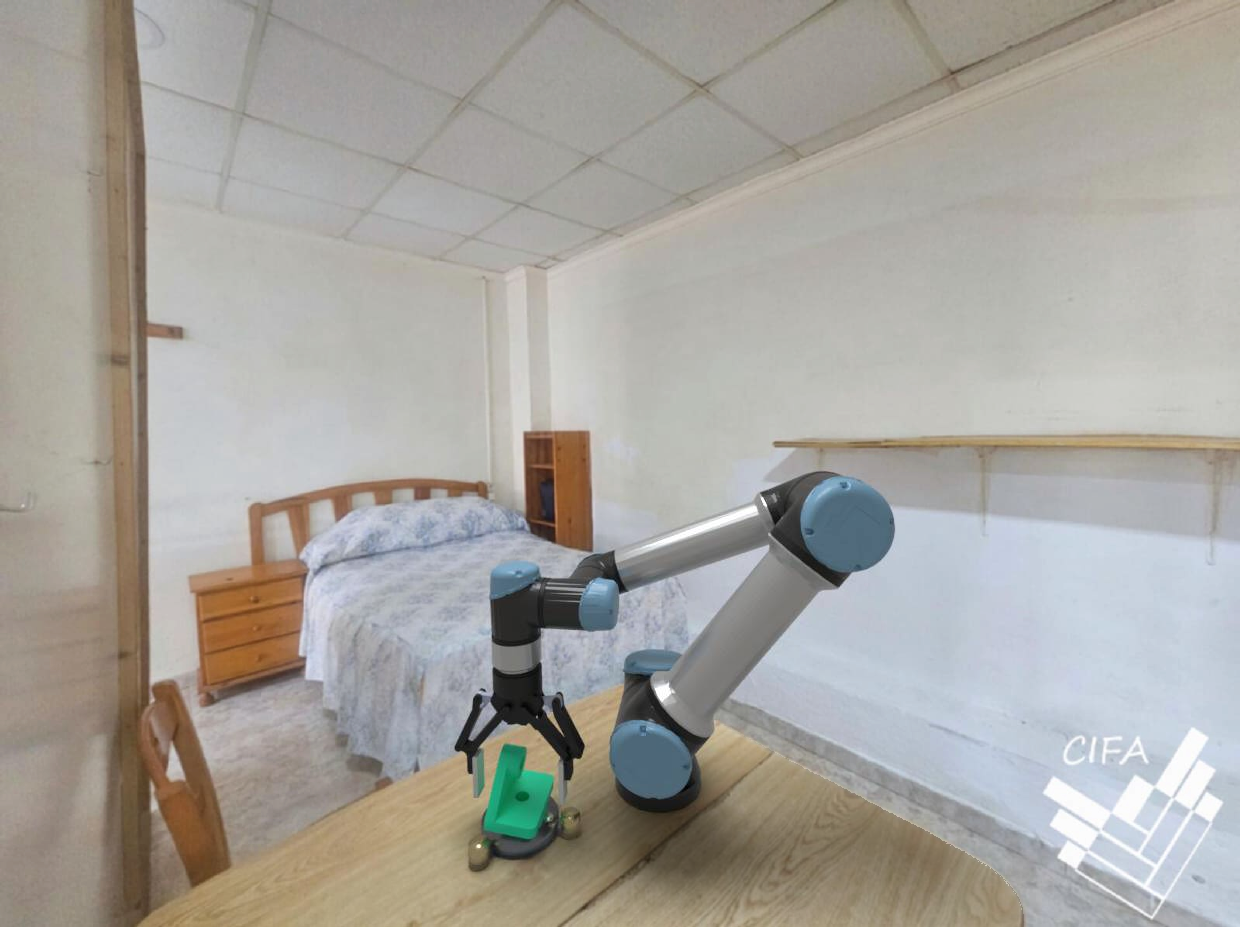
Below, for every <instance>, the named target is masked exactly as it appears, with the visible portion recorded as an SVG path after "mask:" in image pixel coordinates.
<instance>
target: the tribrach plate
mask: <svg viewBox="0 0 1240 927" xmlns="http://www.w3.org/2000/svg"><path fill="white" fill-rule="evenodd" d="M486 812H487V808H485V811H484V812H483V814H482V816H481V819H480V820H481V821H480V822H481V823H480V832H481V833H480V834H477V835H475V836H473V837H472V838H470V839H469V841H468V844H467V845H468V846H467V847H468V848H467V852H468V854H467V856H468V867H469V869H470V870H471V871H473V872H479V871H480V872H481V871H483V870H485V869H486V868H487V867H488V866H489V865H490V863H491V859H492V858H493V857H497V858H499V859H503V860H509V861H510V860H511V861H512V860H513V861H514V860H522V859H523V860H524V859H526V858H527V859H528V858H530V857H532V856H534V855H538V854H539V853H541V852H543V850H545V849H547V848H548V847H549V846H550V845H551V844H552V843H553V842H554V841H555V838H556V837H557V836H561V837H562V838H563V839H565V840H568V841H570V840H571V841H572V840H575V839H577V838H578V837H579V836H580V835H581V812H580V810H579V808H577V807H575V806H569V807H568V806H567V807H565V808H563V809H562V810H561V812H560V810H559V804H558V803H557V801H556V800H555V798H553V797H552V796H551V795H550V798H549V802H548V808H547V810H546V813H545V816H544V819H543V822H542V824H541V827H540V828H538V831H537V833H536V836H535V837H534V838H532V839H525V838H520V837H515V836H510V835H505V834H501V833H496V832H491V831H486V830H484V820H485V816H486Z"/></svg>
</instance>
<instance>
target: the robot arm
mask: <svg viewBox="0 0 1240 927" xmlns="http://www.w3.org/2000/svg"><path fill="white" fill-rule="evenodd" d="M895 533H896V524H895V517H894V513H893V510H892V508H891V506H890V504H889V502H888V501H887V499H886V498H885V497H884V496H883V494H881V492H879V491H878V490H877V489H875V488H874V487H872V486H871V485H869V484H867V483H865V482H864V481H862V480H861V479H859V478H856V477H853V476H852V477H850V476H844V475H841V474H839V473H836V472H833V471H826V470H820V471H819V470H817V471H812V472H808V473H805V474H802V475H800V476H797V477H795V478H793V479H790V480H787V481H784V482H783V483H781V484H778V485H775V486H773V487H771V488H769V489H765V490H762V491H759V492H758V493H757V494H756V496H755V497H754V499H753V500H752V501H750V502H749V501H748V502H746V503H744V504H741V505H739V506H735V507H733V508H730V509H727V510H723V511H720V512H718V513H716V514H712V515H710V516H707V517H704V518H701V519H699V520H695V521H692V522H690V523H687V524H684V525H681V526H678V527H675V528H672V529H669V530H667V531H664V532H662V533H659V534H655V535H652V536H650V537H646V538H644V539H642V540H638V541H635V542H633V543H630V544H626V545H623V546H621V547H618V548H616V549H614V550H610V551H606V552H599V551H598V552H593V553H591V554H589V555H588V556H585V557H583V559H582V560H580V562H579V563H578V565H577V566H576V568H575V569H574V570H573V572H572V574H570V576H569V577H565V578H564V577H559V578H558V577H545V576H542V573H541V571H540V566H539V565H538V564H537V563H536V562H533V561H532V562H531V561H528V560H527V561H525V560H515V561H508V562H504V563H500V564H498V565H496V566H495V567H494V568H493V569H492V570H491V572H490V578H489V582H490V583H489V596H488V600H489V607H490V625H491V626H490V627H491V635H490V636H491V664H492V666H493V667H492V673H491V674H492V690H493V692H487V690H486V689H485V688H484V687H480V688H479V689H478V690H477V692H476V693H475V695H474V696H473V697H472V705H471V711H470V713H469V715H468V717H467V720H466V721H465V724H464V726H463V727H462V730H461V732H460V734H459V736H458V738H457V741H455V745H454V748H453V749H454V751H455V752H457V753H460V752H462V753H464V754H465V755H466V766H467V768H466V770H467V774H468V775H472V785H473V788H472V790H473V791H472V792H473V799H479V798H480V796H481V794H482V792H483V790H484V789H485V787H486V786H485V785H486V783H485V782H486V781H485V780H486V779H485V757H484V755H485V754H484V753H485V752H484V750H485V749H484V747H481V745H482V744H483V743H484V742H485V741H486V740H487V739H488V737H490V735H492V733H493V732H494V730H495V729H496V728H498V726H500V724H501V723H502V721H503V722H505V723H506V725H510V726H512V725H513V726H514V725H519V726H521V727H522V726H526V727H528V725H530V727H531V728H533V730H535V731H537V732H538V733H539V734H540V735H541V736H542V737H543V739H544V740H545V741H546V742H547V743H548V744H549V746H550V747H551V748H552V749H553V750H554V751H555V753H556V754H557V755H558V756H559V759H558V762H557V768H558V769H557V773H558V774H557V775H558V776H557V778H558V779H557V780H558V782H557V783H558V805H565V801H566V798H567V795H568V793H569V792H568V789H569V788H568V781H571V780H572V778H573V775H574V760H575V759H576V760H581V759H582V757H583V755H584V751H585V748H586V744H585V742H584V740H583V739H582V737H581V735H580V733H579V731H578V729H577V727H576V725H575V723H574V721H573V719H572V718H571V715H570V713H569V711H568V710H567V707H566V706H565V699H564V694H563V692H562V691H556V692H555V694H554V695H553V694H552V695H545V693H544V691H543V665H542V658H543V657H542V629H543V630H544V629H546V630H569V631H583V632H584V631H586V632H590V633H593V632H602V631H603V632H605V631H606V632H607V631H611V630H613V629H615V627H616V626H617V624H618V619H619V613H620V612H619V610H620V595H623V594H625V593H628V592H630V591H634V590H637V589H639V588H643V587H646V586H648V585H651V584H652V585H653V584H655V583H658V582H661V581H664V580H667V579H670V578H673V577H676V576H679V575H682V574H684V573H688V572H690V571H694V570H697V569H699V568H703V567H705V566H709V565H712V564H715V563H717V562H721V561H723V560H727V559H730V558H733V557H736V556H738V555H742V554H745V553H748V552H751V551H754V550H757V549H760V548H763V547H766V546H769V547H768V550H767V552H766V553H765V555H763V557H762V558H761V559H760V560H759V562H758V563H757V564H756V566H754V568H753V569H752V570H751V571H750V573H748V575H747V576H746V577H745V579H744V580H743V581H742V582H741V584H739V586H738V587H737V588H736V589H735V591H734V592H733V593H732V594H731V595H730V596H729V598H728V599H727V601H725V603H724V604H723V605H722V607H721V608H720V609H719V610H718V611H717V612H716V614H715V615H714V616H713V617H712V618H711V619H710V621H709V622H708V623H707V624H706V625H705V627H704V628H703V629H702V630H701V631H700V633H699V634H698V635H697V636H696V638H695V639H694V640H693V642H691V643H690V645H689V646H688V647H687V649H686V650H685V651H684V653H683V654H682V653H680V652H677V651H674V650H669V649H668V650H667V649H659V648H653V649H651V648H649V649H640V650H636V651H634V652H631V653H629V654H628V655H627V656H626V658H625V659H624V666H623V670H622V672H623V673H624V674H623V675H624V676H623V677H624V679H623V682H624V683H623V692H622V696H621V701H620V704H619V707H618V710H617V711H618V712H617V715H616V719H615V723H614V726H613V731H611V732H612V733H611V735H610V737H609V752H608V756H609V757H608V758H609V764H610V767H611V768H610V769H612V772H613V774H614V776H615V777H614V779H615V780H614V783H615V787H616V791H617V792H618V793H619V795H620V797H621V798H622V799H623V800H625V802H627V803H628V804H630V805H631V806H633V807H635V808H638V809H641V810H644V811H648V812H653V813H665V812H673V811H677V810H681V809H683V808H685V807H687V806H689V805H690V804H691V803H693V802H694V801H695V800H696V799H697V797H698V796H699V793H700V791H701V787H702V785H701V784H702V782H701V780H702V779H701V778H702V776H701V775H702V774H701V768H700V765H699V762H698V758H697V756H696V754H697V753H698V752H699V751H700V750H701V748H703V746H704V745H705V743H707V741H708V740H710V738H711V737H712V736H713V734H714V733H715V719H714V715H715V714H716V713H717V712H718V710H720V708H721V707H722V706H723V705H724V704H725V703H726V702H727V700H728V699H729V698H730V697H731V695H732V694H733V693H734V692H735V691H736V690H737V689H738V687H739V686H740V685H741V684H742V682H744V681H745V679H746V678H747V677H748V676H749V674H750V673H751V672H752V671H753V670H754V668H756V666H757V665H758V664H759V663H760V662H761V660H762V659H763V658H764V657H765V656H766V655H767V653H768V652H769V651H770V650H771V649H772V648H773V646H775V644H776V643H777V642H778V641H779V640H780V638H782V636H783V635H784V634H785V632H787V630H788V629H789V628H790V627H791V625H792V624H793V623H794V622H795V621H796V619H798V617H799V616H800V615H801V614H802V612H803V611H804V610H805V609H806V608H807V606H809V604H810V603H811V602H812V601H813V600H814V599H815V597H816V596H817V595H818V594H819V593H820V592H822V591H833V590H838V589H840V587H841V586H842V585H843V584H844V582H845V581H847V579H849V577H850V576H851V574H853V573H857V572H862V571H865V570H866V571H867V570H868V569H871V568H872V567H874V566H876V565H877V564H878V563H880V562H881V561H882V560H883V559H884V558H885V557H886V556H887V554H888V552H890V550H891V547H892V545H893V542H894V539H895ZM489 703H490V704H491V706H492V707H493V709H494V710H495V712H496V713H495V714H494V715H493V716H492V718H491V719H490V720H488V722H487V723H486V724H485V725H484V726H483V728H482V729H481V730H480V731H479V733H478V734H476V736H475V737H474V738H473V739H472V740H471V739H469V738H470V736H471V734H472V732H473V730H474V728H475V726H476V724H477V722H478V721H479V717H480V716H481V714H482V711H483V709H484V708H486V707H487V706H488V704H489ZM544 706H547V707H548V709H549V712H551V713H552V714H553V718H554V720H555V721H556V724H557V725H558V727H559V729H560V730H559V729H558V728H557V727H556V725H555V724H554V723H553V722H552V721H551V720H550V718H549V717H548V713H547V712H546V710H545V709H543V708H544Z"/></svg>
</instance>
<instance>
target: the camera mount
mask: <svg viewBox="0 0 1240 927" xmlns="http://www.w3.org/2000/svg"><path fill="white" fill-rule="evenodd" d="M527 752H528V750H527V747H526V746H524V745H523V746H522V745H517V744H511V743H507V742H505V743H504V744H503V746H502V748H501V750H500V753H499V757H498V761H497V764H496V769H495V774H494V777H493V782H492V786H491V790H490V795H489V799H488V804H487V808H486V809H487V812H486V816H485V820H484V830H486V831H491V832H496V833H501V834H505V835H510V836H515V837H520V838H525V839H532V838H534V837H535V836H536V833H537V831H538V828H540V827H541V824H542V822H543V819H544V816H545V813H546V810H547V808H548V802H549V798H550V796H551V795H552V791H553V789H554V781H555V776H553V775H552V774H549V773H547V772H546V773H545V772H540V771H534V770H530V769H524V768H525V766H526V765H525V764H526V760H527V754H528V753H527Z"/></svg>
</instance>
